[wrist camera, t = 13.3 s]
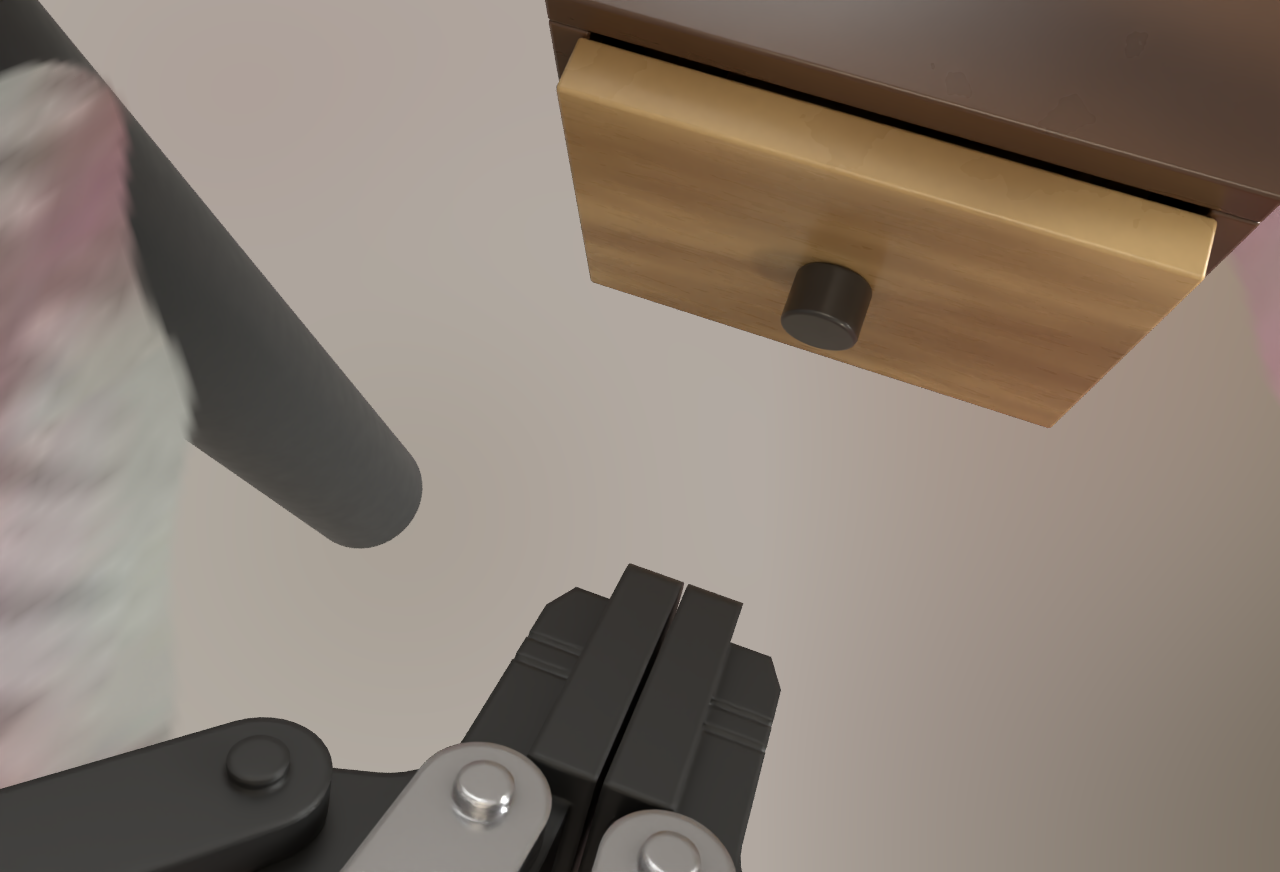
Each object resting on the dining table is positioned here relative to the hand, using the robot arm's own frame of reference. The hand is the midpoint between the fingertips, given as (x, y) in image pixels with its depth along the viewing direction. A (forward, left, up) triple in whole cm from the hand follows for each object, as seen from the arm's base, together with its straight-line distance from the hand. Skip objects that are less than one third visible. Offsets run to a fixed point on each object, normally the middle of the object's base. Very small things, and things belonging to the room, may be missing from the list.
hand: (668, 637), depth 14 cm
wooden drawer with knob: (-10, +11, -10) cm, 18 cm away
